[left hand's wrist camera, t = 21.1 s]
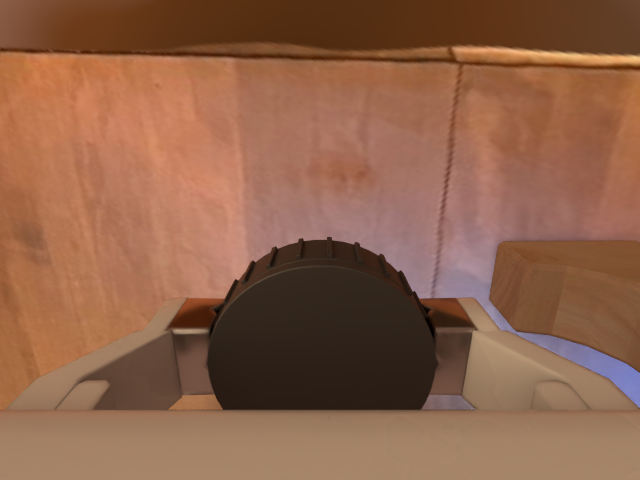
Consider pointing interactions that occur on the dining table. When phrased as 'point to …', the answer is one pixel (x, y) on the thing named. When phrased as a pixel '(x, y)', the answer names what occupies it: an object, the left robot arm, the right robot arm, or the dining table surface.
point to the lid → (321, 334)
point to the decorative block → (573, 292)
